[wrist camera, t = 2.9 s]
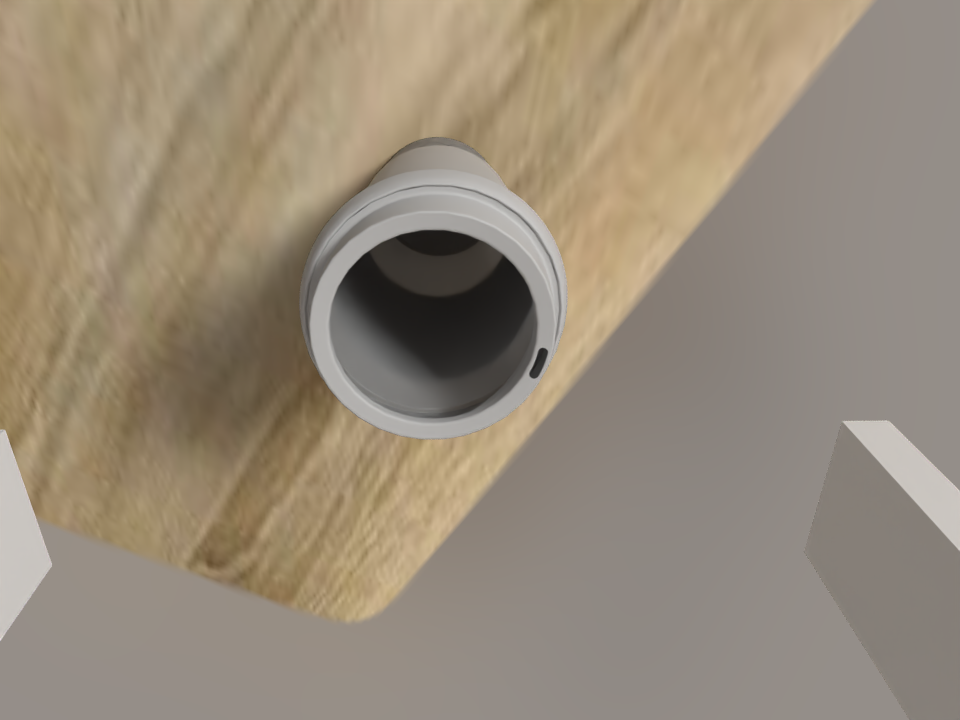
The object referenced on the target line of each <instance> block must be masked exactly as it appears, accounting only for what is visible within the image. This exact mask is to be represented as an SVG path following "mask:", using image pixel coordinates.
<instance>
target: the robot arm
mask: <svg viewBox="0 0 960 720" xmlns="http://www.w3.org/2000/svg"><path fill="white" fill-rule="evenodd" d="M804 553H805V554H806V556H807V557H808V559H809V560H810V562H811V564H812V565H813V567H814V569H815V570H816V572H817V573H818V575H819V576H820V578H821V580H822V581H823V583H824V584H825V586H826V588H827V589H828V591H829V592H830V594H831V596H832V597H833V599H834V600H835V602H836V603H837V605H838V607H839V608H840V610H841V611H842V613H843V615H844V616H845V618H846V620H847V621H848V623H849V624H850V626H851V627H852V629H853V631H854V632H855V634H856V635H857V637H858V638H859V640H860V642H861V643H862V645H863V647H864V648H865V650H866V651H867V653H868V655H869V656H870V658H871V659H872V661H873V662H874V664H875V666H876V667H877V669H878V670H879V672H880V674H881V675H882V677H883V678H884V680H885V681H886V683H887V685H888V686H889V688H890V690H891V691H892V693H893V694H894V696H895V697H896V699H897V701H898V702H899V704H900V705H901V707H902V709H903V710H904V712H905V713H906V715H907V717H908V718H909V720H960V491H959V490H958V489H957V488H956V487H955V486H954V485H953V484H952V483H951V482H950V481H949V480H948V479H947V478H946V477H945V476H944V475H943V474H942V473H941V472H940V471H939V470H938V469H937V468H936V467H935V466H934V465H933V464H932V463H931V462H930V461H929V460H928V459H927V458H926V457H925V456H924V455H923V454H922V453H921V452H920V451H919V450H918V449H917V448H916V447H915V446H914V445H913V444H912V443H911V442H909V440H907V438H906V437H905V436H904V435H902V433H901V432H900V431H899V430H897V428H896V427H894V426H893V425H892V424H891V423H890V422H889V421H842V423H841V426H840V430H839V433H838V437H837V440H836V444H835V447H834V451H833V454H832V458H831V461H830V464H829V468H828V472H827V475H826V478H825V482H824V485H823V489H822V492H821V496H820V499H819V502H818V506H817V509H816V513H815V516H814V520H813V523H812V527H811V530H810V533H809V537H808V540H807V544H806V547H805V551H804ZM51 566H52V563H51V560H50V557H49V554H48V552H47V549H46V546H45V543H44V540H43V537H42V534H41V531H40V529H39V526H38V523H37V520H36V517H35V514H34V511H33V509H32V506H31V503H30V500H29V497H28V494H27V491H26V489H25V486H24V483H23V480H22V477H21V474H20V471H19V469H18V466H17V463H16V460H15V457H14V454H13V451H12V448H11V446H10V443H9V440H8V437H7V434H6V431H5V430H0V641H1V639H2V638H3V636H4V635H5V633H6V632H7V630H8V629H9V627H10V626H11V625H12V623H13V622H14V620H15V619H16V617H17V616H18V614H19V613H20V612H21V610H22V609H23V607H24V606H25V604H26V603H27V601H28V600H29V598H30V597H31V596H32V594H33V593H34V591H35V590H36V588H37V587H38V585H39V584H40V582H41V581H42V580H43V578H44V577H45V575H46V574H47V572H48V571H49V569H50V568H51Z"/></svg>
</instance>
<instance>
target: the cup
mask: <svg viewBox="0 0 960 720" xmlns="http://www.w3.org/2000/svg"><path fill="white" fill-rule="evenodd" d="M299 309H300V320H301V327H302V331H303V335H304V339H305V342H306V346H307V349H308V353H309V355H310V357H311V359H312V361H313V363H314V365H315V367H316V369H317V371H318V373H319V375H320V376H321V378H322V379H323V380H324V381H325V383H326V385H327V386H328V388H329V389H330V390H331V391H332V393H333V394H334V395H335V396H336V397H337V399H338V400H339V401H340V402H341V403H342V404H343V405H344V406H345V407H346V408H348V409H349V410H350V411H351V412H353V413H354V414H355V415H356V416H358V417H359V418H360V419H362V420H364V421H366V422H367V423H369V424H371V425H373V426H375V427H377V428H378V429H381V430H384V431H387V432H390V433H393V434H396V435H399V436H404V437H410V438H416V439H448V438H454V437H460V436H465V435H468V434H471V433H474V432H477V431H479V430H482V429H485V428H487V427H489V426H491V425H493V424H494V423H496V422H498V421H500V420H501V419H503V418H505V417H506V416H508V415H509V414H510V413H511V412H513V411H514V410H515V409H516V408H517V407H518V406H520V405H521V404H522V403H523V402H524V401H525V400H526V399H527V397H528V396H529V395H530V394H531V393H532V391H533V390H534V389H535V388H536V386H537V385H538V383H539V381H540V380H541V378H542V376H543V374H544V373H545V371H546V370H547V368H548V366H549V364H550V362H551V360H552V358H553V356H554V354H555V353H556V350H557V347H558V344H559V341H560V338H561V335H562V332H563V328H564V325H565V319H566V312H567V281H566V274H565V269H564V265H563V261H562V258H561V255H560V252H559V250H558V247H557V245H556V243H555V241H554V239H553V237H552V235H551V233H550V232H549V230H548V228H547V227H546V225H545V224H544V222H543V221H542V220H541V219H540V217H539V216H538V215H537V214H536V212H535V211H534V210H533V209H532V208H531V207H530V206H529V205H528V204H527V203H526V202H525V201H523V200H522V199H521V198H519V197H518V196H517V195H515V194H514V193H513V192H511V191H510V190H508V189H507V187H506V186H505V184H504V183H503V181H502V180H501V178H500V177H499V175H498V174H497V173H496V172H495V171H494V170H493V169H492V168H491V167H490V166H489V165H488V163H487V162H486V161H485V159H484V158H483V157H482V156H481V155H480V154H479V153H478V152H477V151H475V150H474V149H473V148H471V147H470V146H468V145H466V144H464V143H462V142H460V141H457V140H453V139H449V138H442V137H432V138H425V139H421V140H418V141H415V142H413V143H411V144H409V145H407V146H405V147H404V148H402V149H401V150H400V151H398V152H397V153H396V154H395V155H394V156H393V157H392V158H391V160H390V161H389V162H388V163H387V164H386V165H385V166H384V167H383V168H382V169H381V170H380V171H379V172H378V173H377V174H376V175H375V177H374V178H373V180H372V181H371V183H370V184H369V186H368V187H367V188H366V189H364V190H363V191H361V192H360V193H358V194H357V195H355V196H354V197H353V198H351V199H350V200H349V201H348V202H346V203H345V204H344V205H343V206H342V207H341V208H340V209H339V210H338V211H337V212H336V213H335V214H334V215H333V216H332V217H331V219H330V220H329V221H328V222H327V224H326V225H325V226H324V227H323V229H322V231H321V232H320V234H319V235H318V237H317V239H316V240H315V242H314V244H313V246H312V248H311V250H310V253H309V255H308V258H307V261H306V264H305V267H304V271H303V275H302V280H301V286H300V297H299Z"/></svg>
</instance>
